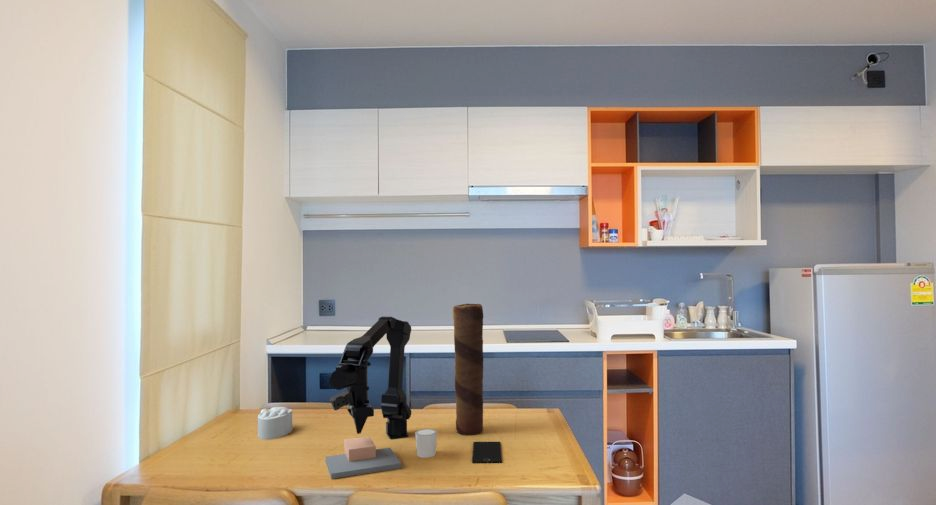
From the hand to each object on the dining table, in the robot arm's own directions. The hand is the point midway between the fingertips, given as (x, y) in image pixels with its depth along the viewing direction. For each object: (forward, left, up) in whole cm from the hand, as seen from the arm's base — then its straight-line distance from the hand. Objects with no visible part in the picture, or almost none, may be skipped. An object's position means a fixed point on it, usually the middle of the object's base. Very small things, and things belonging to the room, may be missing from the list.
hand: (358, 433), depth 168 cm
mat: (0, +6, -8) cm, 10 cm away
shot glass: (-20, +5, -8) cm, 22 cm away
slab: (0, -4, -4) cm, 6 cm away
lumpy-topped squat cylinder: (+24, -37, -8) cm, 44 cm away
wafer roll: (-41, -11, -8) cm, 43 cm away
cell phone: (-38, +11, -8) cm, 41 cm away
